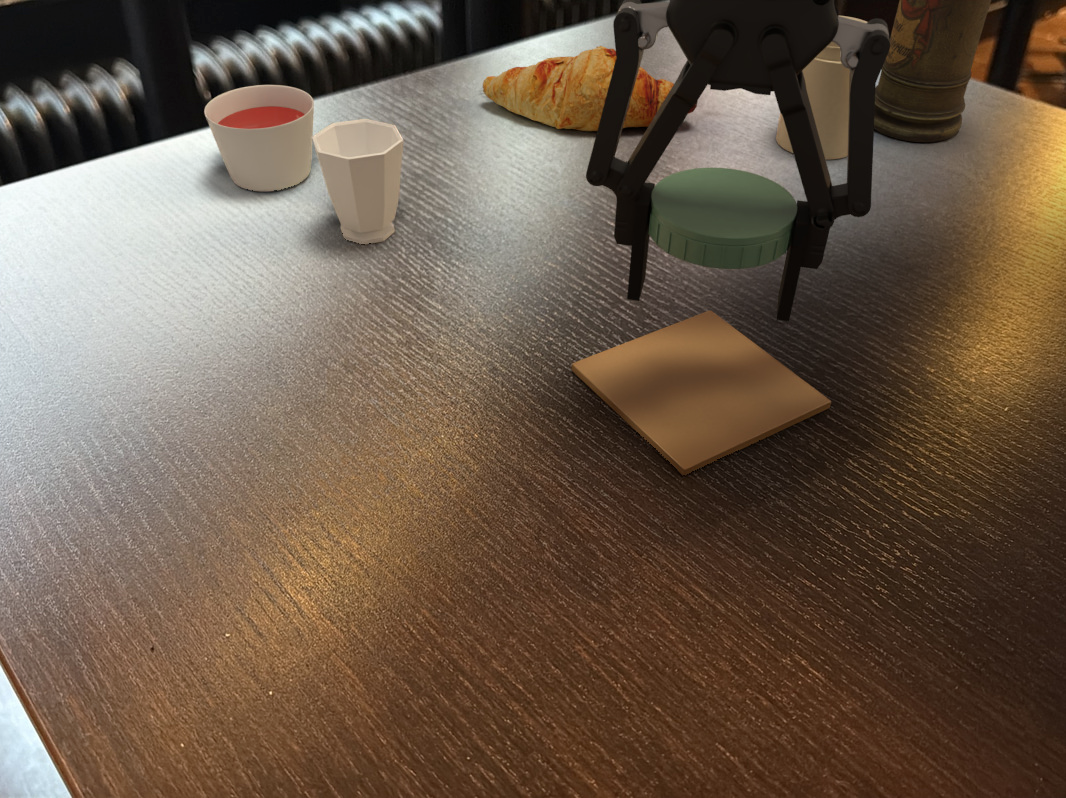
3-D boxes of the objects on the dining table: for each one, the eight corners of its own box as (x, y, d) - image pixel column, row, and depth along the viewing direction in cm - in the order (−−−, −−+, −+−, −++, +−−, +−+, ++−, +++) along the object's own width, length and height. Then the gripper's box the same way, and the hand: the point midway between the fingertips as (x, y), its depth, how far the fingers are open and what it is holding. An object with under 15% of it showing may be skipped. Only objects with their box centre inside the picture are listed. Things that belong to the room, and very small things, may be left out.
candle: (218, 204, 84) (202, 133, 80) (219, 156, 91) (205, 89, 87) (326, 193, 85) (316, 123, 81) (319, 147, 92) (310, 80, 88)
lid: (822, 245, 57) (830, 214, 56) (707, 285, 54) (712, 253, 52) (729, 184, 63) (733, 155, 61) (618, 217, 59) (621, 187, 58)
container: (940, 103, 101) (995, -89, 89) (974, 143, 94) (1037, -60, 82) (853, 104, 101) (896, -89, 89) (879, 144, 94) (930, -60, 82)
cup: (315, 251, 78) (300, 156, 73) (341, 190, 86) (329, 100, 81) (404, 255, 78) (396, 159, 73) (422, 193, 86) (415, 103, 80)
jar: (875, 146, 93) (903, 33, 86) (818, 167, 90) (842, 50, 83) (815, 117, 98) (837, 7, 91) (758, 136, 95) (777, 23, 88)
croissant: (477, 148, 100) (463, 95, 93) (496, 68, 104) (485, 11, 96) (690, 166, 96) (693, 112, 89) (702, 83, 100) (706, 24, 93)
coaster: (830, 408, 64) (832, 401, 64) (683, 476, 59) (684, 469, 59) (709, 316, 72) (710, 309, 72) (571, 370, 67) (571, 363, 67)
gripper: (998, -113, 48) (884, 288, 62) (564, -141, 51) (553, 245, 65) (1020, -70, 42) (890, 359, 56) (531, -105, 45) (527, 308, 60)
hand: (709, 297), depth 61 cm, fingers closed on lid, 8 cm apart
